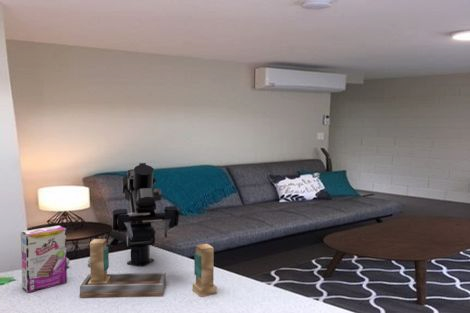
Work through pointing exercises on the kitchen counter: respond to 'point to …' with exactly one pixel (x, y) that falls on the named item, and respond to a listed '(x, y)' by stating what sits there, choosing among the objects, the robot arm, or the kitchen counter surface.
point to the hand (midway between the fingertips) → (149, 237)
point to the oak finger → (204, 270)
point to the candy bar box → (43, 258)
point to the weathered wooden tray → (117, 278)
